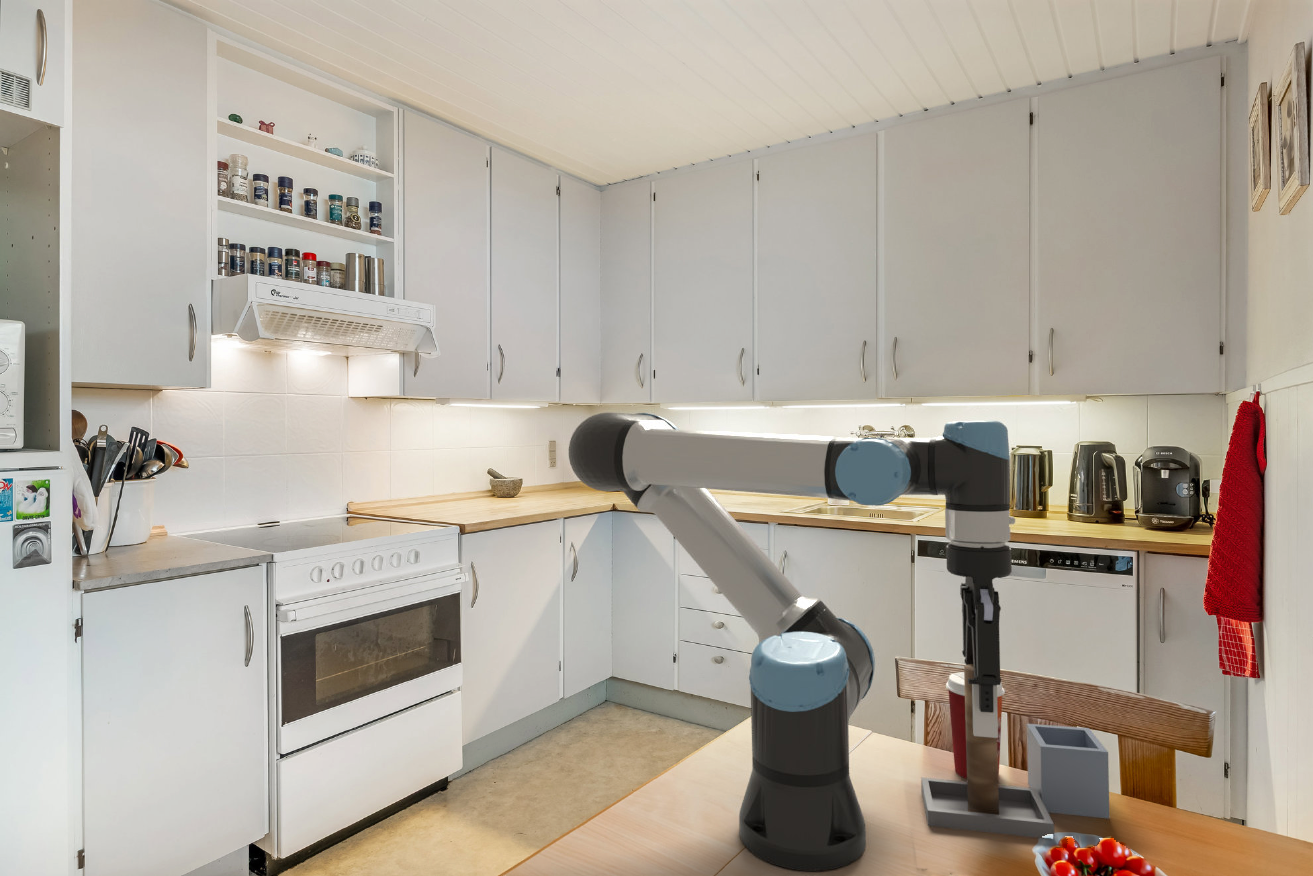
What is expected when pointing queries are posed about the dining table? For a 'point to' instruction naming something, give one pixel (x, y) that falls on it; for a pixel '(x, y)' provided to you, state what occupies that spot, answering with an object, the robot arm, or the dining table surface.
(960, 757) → the paper cup
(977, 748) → the dowel
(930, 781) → the tray
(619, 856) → the dining table surface
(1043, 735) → the open grey box
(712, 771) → the dining table surface
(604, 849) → the dining table surface
